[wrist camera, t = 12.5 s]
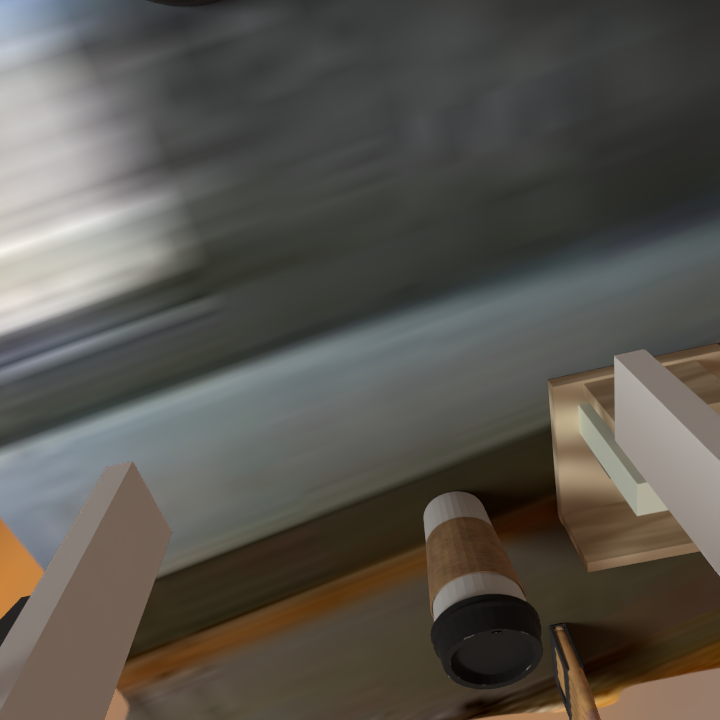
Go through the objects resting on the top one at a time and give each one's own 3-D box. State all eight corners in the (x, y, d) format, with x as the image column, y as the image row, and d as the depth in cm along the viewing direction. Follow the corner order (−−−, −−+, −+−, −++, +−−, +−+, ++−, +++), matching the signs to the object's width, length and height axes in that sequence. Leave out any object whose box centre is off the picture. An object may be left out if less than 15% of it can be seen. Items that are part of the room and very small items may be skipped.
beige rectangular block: (578, 404, 45) (637, 484, 36) (699, 378, 44) (789, 453, 35) (579, 432, 46) (637, 516, 37) (696, 408, 46) (783, 487, 37)
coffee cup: (499, 477, 50) (558, 621, 37) (494, 542, 54) (545, 693, 41) (409, 483, 50) (436, 630, 37) (411, 548, 54) (435, 702, 40)
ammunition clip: (549, 624, 60) (594, 741, 50) (565, 621, 60) (614, 738, 50) (554, 679, 65) (597, 795, 55) (569, 676, 65) (615, 792, 55)
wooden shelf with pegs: (547, 379, 45) (581, 427, 39) (716, 343, 44) (779, 386, 38) (558, 516, 52) (587, 574, 46) (703, 487, 51) (753, 543, 45)
